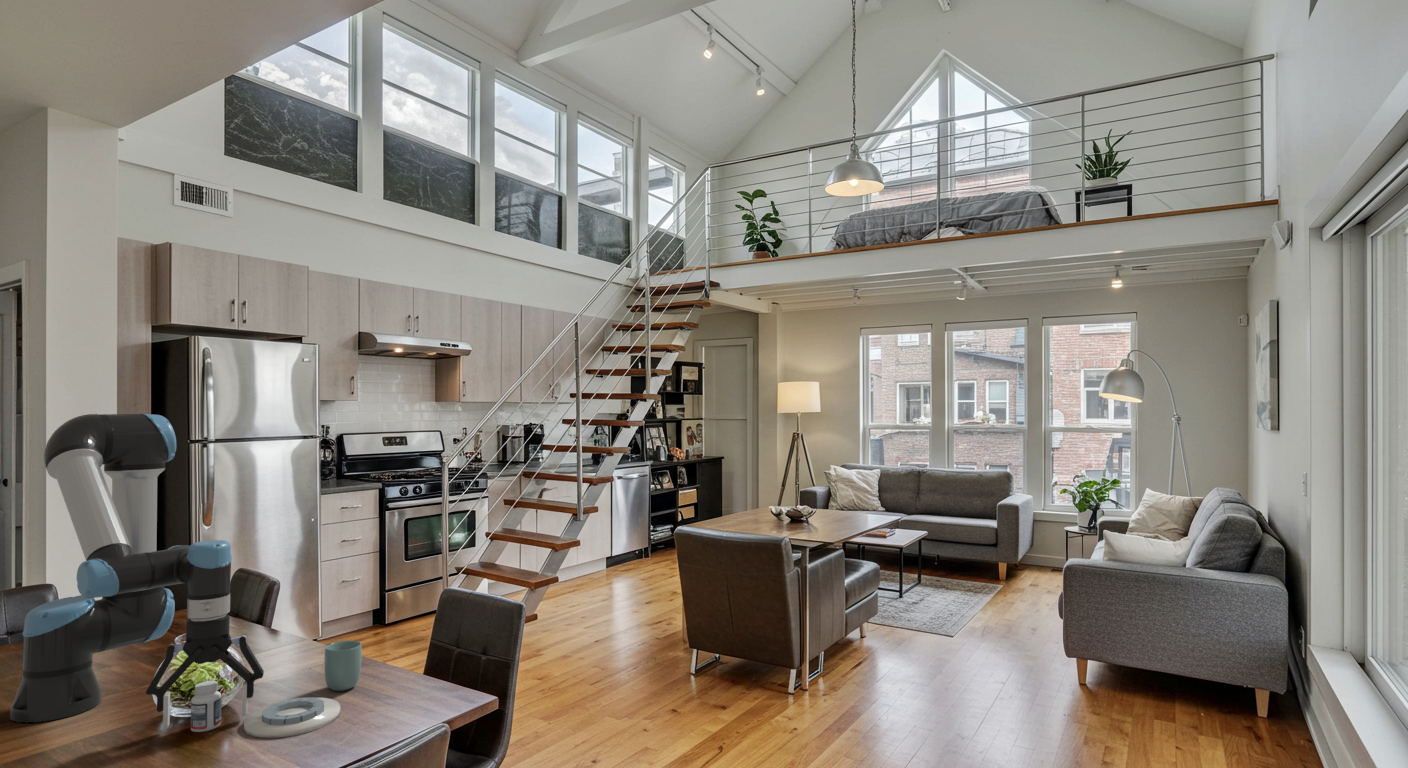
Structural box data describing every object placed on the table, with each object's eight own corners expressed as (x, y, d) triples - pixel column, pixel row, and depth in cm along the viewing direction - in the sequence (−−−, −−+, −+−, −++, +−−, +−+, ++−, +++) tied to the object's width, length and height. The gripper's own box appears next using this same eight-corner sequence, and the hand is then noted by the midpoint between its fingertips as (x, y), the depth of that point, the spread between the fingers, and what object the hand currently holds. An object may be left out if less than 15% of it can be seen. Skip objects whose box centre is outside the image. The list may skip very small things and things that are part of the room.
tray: (240, 745, 147) (240, 732, 147) (246, 712, 163) (247, 700, 163) (341, 727, 155) (342, 715, 155) (338, 697, 171) (339, 686, 171)
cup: (346, 695, 172) (347, 651, 173) (316, 692, 174) (317, 649, 174) (367, 683, 180) (368, 641, 180) (339, 681, 182) (340, 639, 182)
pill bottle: (215, 719, 159) (216, 677, 159) (224, 726, 155) (225, 683, 156) (186, 728, 155) (187, 684, 155) (195, 735, 151) (196, 690, 152)
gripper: (130, 629, 147) (127, 739, 146) (276, 613, 158) (274, 714, 158) (138, 620, 153) (135, 725, 153) (277, 605, 165) (276, 702, 164)
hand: (206, 720), depth 155 cm, fingers open, 13 cm apart
